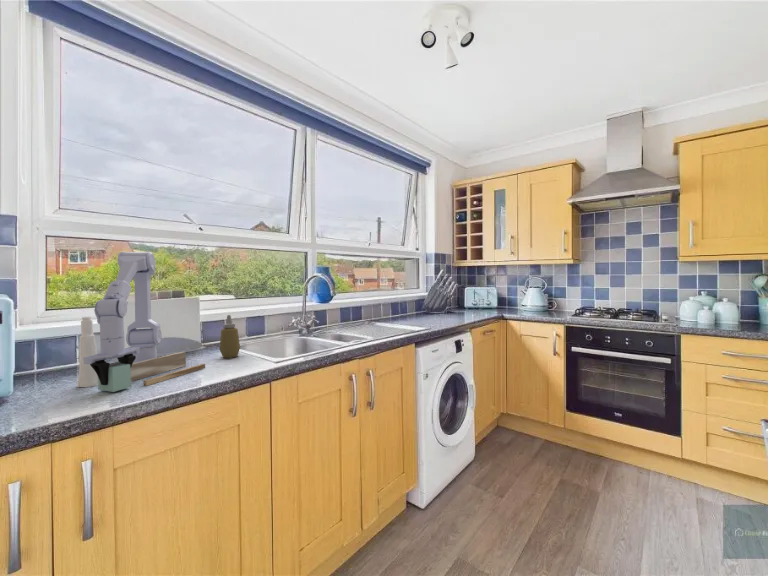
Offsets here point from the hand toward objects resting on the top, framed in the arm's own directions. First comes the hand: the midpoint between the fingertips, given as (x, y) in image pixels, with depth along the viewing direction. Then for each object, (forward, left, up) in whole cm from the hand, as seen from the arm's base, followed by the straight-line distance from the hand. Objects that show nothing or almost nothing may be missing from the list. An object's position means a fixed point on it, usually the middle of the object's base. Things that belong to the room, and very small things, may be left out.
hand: (114, 381), depth 104 cm
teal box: (0, 0, -2) cm, 2 cm away
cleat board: (0, +17, -3) cm, 17 cm away
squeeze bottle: (+1, +45, -3) cm, 45 cm away
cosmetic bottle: (-14, +1, -3) cm, 14 cm away
